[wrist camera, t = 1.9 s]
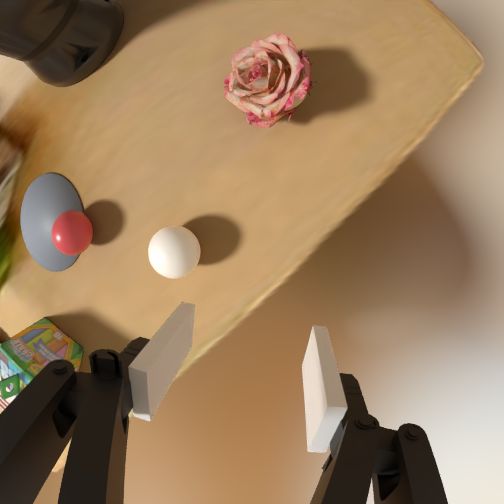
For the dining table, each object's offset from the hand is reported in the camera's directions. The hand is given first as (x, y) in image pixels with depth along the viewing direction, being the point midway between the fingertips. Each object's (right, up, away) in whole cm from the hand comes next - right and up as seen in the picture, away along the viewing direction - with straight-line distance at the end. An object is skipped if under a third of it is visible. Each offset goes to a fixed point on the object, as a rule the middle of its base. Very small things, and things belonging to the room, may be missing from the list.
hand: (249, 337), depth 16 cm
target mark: (-28, +9, +18) cm, 35 cm away
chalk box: (-31, -11, +24) cm, 41 cm away
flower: (+2, +22, +13) cm, 25 cm away
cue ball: (-8, +5, +14) cm, 17 cm away
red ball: (-22, +7, +15) cm, 27 cm away
